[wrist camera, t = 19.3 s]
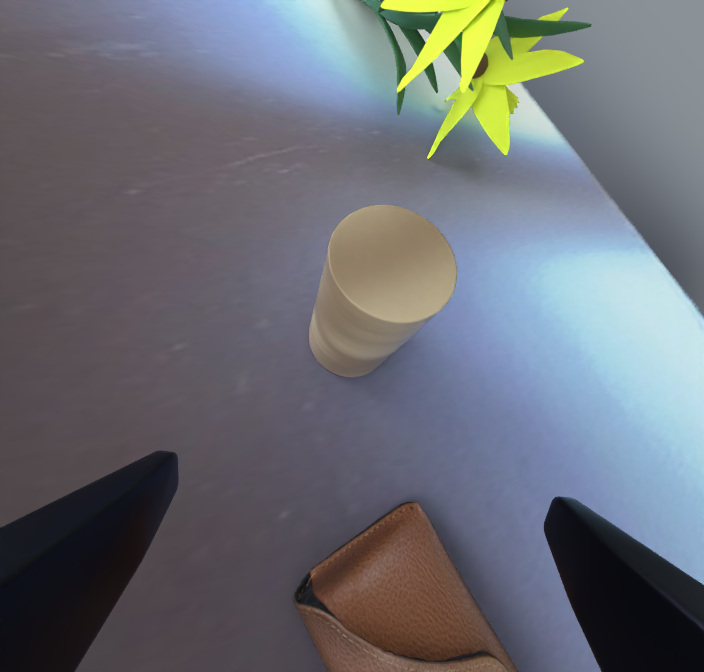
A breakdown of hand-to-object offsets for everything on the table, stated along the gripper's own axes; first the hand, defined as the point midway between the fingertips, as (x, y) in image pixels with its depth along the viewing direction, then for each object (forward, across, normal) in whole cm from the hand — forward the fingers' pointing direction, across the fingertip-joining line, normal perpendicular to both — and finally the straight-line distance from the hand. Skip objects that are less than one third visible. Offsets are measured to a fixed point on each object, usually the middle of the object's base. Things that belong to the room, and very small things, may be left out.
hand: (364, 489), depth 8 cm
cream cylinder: (+16, +1, +1) cm, 16 cm away
